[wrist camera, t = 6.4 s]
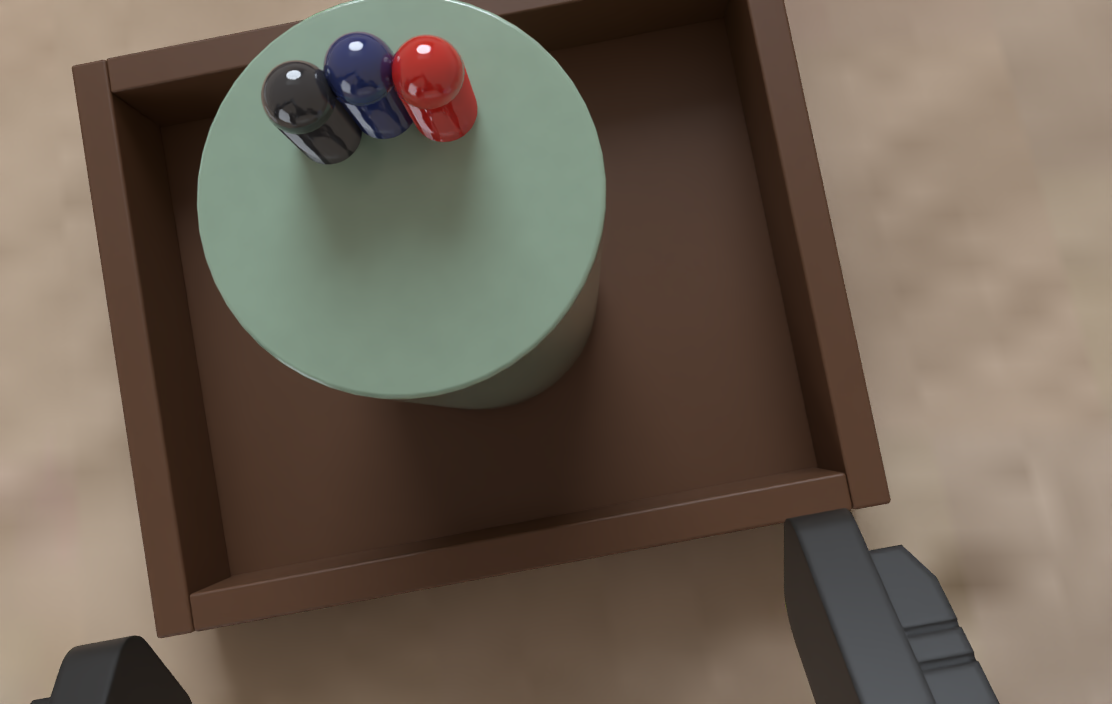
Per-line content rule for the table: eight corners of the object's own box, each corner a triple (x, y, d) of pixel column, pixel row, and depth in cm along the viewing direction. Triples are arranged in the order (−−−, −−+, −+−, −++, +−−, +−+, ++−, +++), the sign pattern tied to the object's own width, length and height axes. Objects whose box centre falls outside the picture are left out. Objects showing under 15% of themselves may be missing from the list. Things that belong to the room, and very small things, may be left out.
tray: (208, 612, 23) (155, 639, 20) (130, 106, 24) (70, 64, 21) (854, 493, 23) (892, 502, 20) (747, -14, 24) (769, -73, 21)
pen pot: (386, 430, 23) (170, 436, 11) (347, 202, 23) (98, -28, 11) (618, 386, 23) (653, 344, 11) (574, 158, 23) (561, -120, 11)
